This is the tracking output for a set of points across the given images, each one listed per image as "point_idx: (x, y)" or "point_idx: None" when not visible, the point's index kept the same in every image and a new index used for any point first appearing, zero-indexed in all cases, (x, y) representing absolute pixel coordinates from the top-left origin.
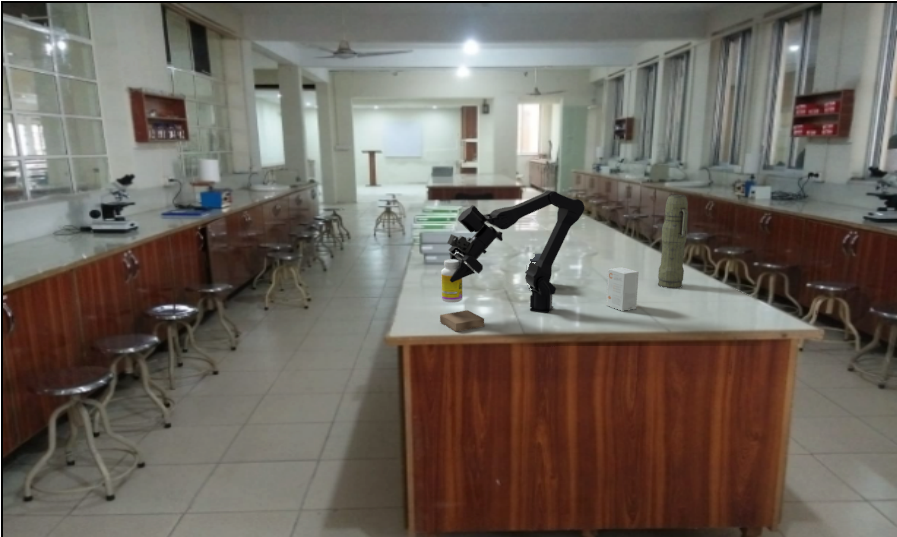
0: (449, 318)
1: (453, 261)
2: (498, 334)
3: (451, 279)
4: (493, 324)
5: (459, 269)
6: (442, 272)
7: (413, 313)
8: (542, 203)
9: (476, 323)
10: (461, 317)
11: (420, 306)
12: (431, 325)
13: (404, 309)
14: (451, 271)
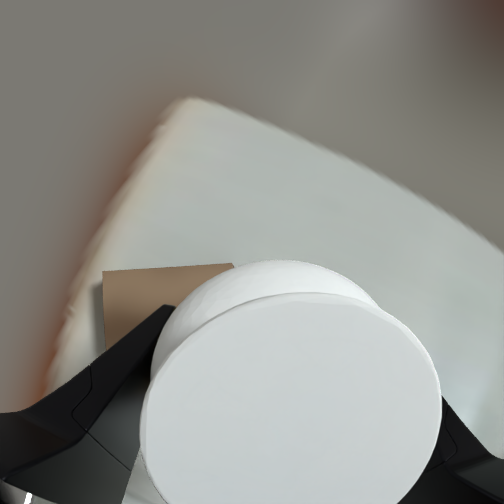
0: (167, 278)
1: (222, 467)
2: (53, 379)
3: (155, 317)
4: None
5: (52, 397)
6: (270, 260)
7: (381, 218)
8: None
9: None
10: None
11: (443, 275)
12: (218, 223)
13: (429, 209)
14: (166, 344)
